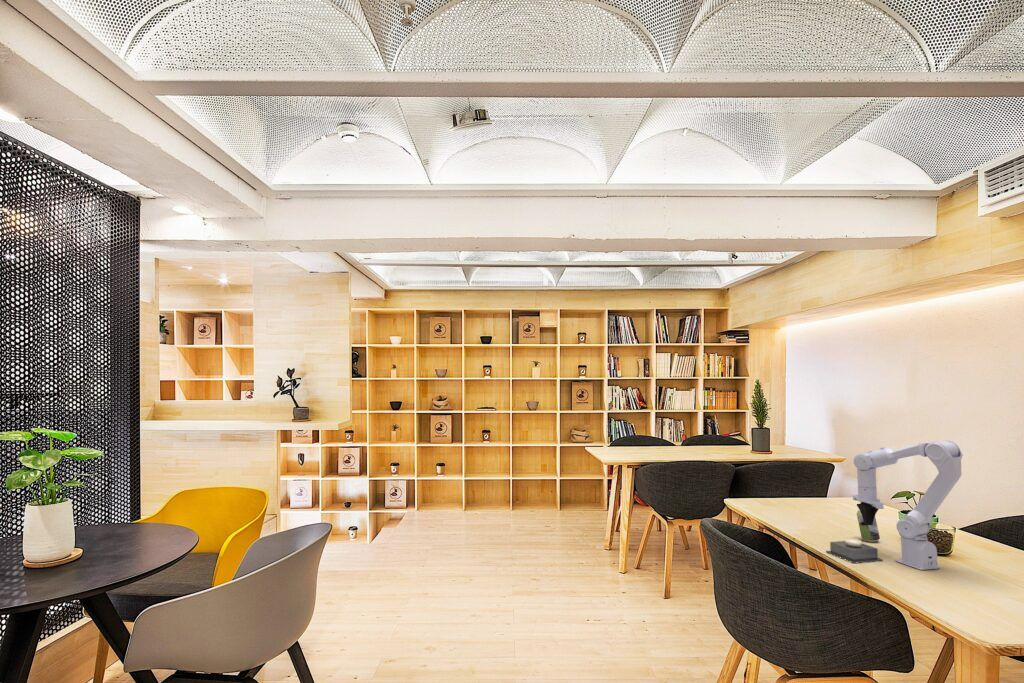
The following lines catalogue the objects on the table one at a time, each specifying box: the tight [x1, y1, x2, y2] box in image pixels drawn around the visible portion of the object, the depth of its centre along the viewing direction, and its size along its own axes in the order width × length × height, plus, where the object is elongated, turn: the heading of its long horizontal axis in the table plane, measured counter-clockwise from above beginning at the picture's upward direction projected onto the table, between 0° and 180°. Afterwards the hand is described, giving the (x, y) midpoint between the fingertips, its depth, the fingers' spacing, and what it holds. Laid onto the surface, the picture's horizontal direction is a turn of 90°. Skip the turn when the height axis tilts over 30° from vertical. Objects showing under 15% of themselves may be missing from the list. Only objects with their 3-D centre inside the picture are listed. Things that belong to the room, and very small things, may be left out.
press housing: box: [825, 540, 884, 564], centre depth 192 cm, size 12×12×4 cm
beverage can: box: [856, 509, 881, 543], centre depth 212 cm, size 6×7×12 cm
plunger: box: [844, 537, 863, 547], centre depth 192 cm, size 5×5×5 cm
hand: (868, 524), depth 198 cm, fingers closed
